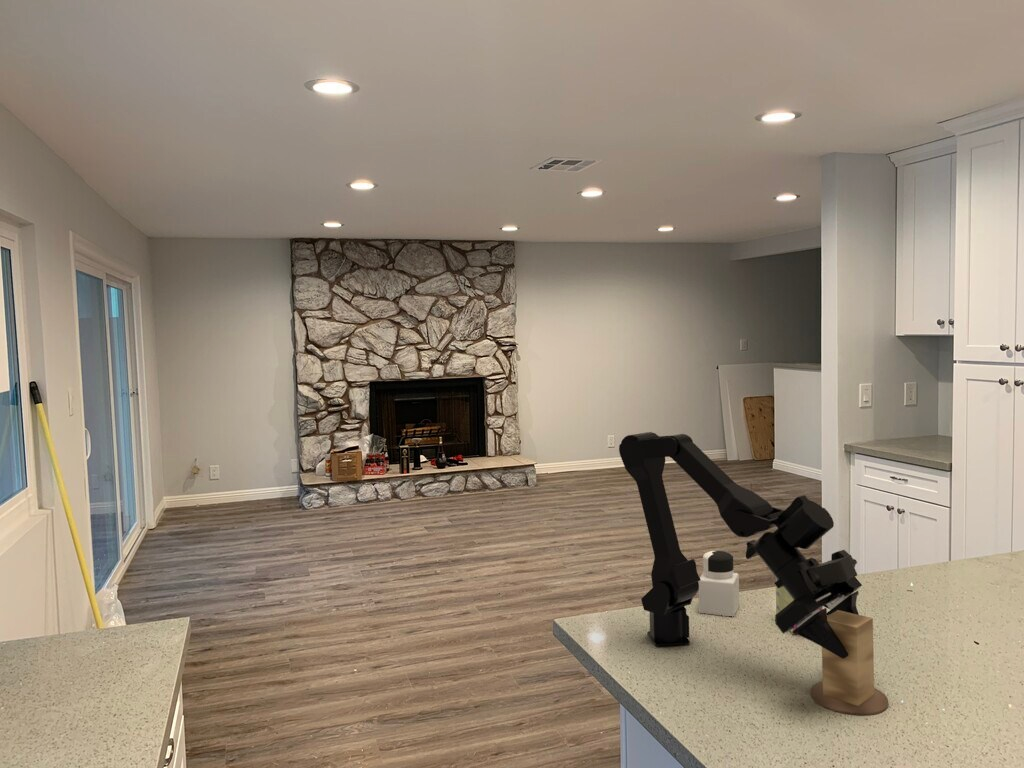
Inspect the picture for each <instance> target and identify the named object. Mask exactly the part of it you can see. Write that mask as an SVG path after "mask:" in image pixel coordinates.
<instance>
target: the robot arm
mask: <svg viewBox="0 0 1024 768" xmlns="http://www.w3.org/2000/svg"><path fill="white" fill-rule="evenodd" d="M618 452H619V456H620V459H621V461H622V463H623V466H624V469H625V470H626V471H627V472H628V474H629V475H630V476H631V478H632V479H633V480H634V481H635V483H636V486H637V489H638V495H639V498H640V502H641V505H642V510H643V513H644V519H645V523H646V527H647V530H648V531H647V532H648V534H649V539H650V543H651V546H652V547H651V548H652V551H653V555H654V556H653V557H654V560H653V563H652V569H651V573H650V578H651V584H652V585H651V586H652V588H651V589H650V590H649V591H647V593H646V594H644V596H642V597H641V598H640V601H641V604H642V605H641V606H642V607H643V610H644V611H646V612H649V630H648V631H647V636H648V638H649V639H650V641H651V642H652V643H653V644H654V646H655V647H669V646H671V647H672V646H683V645H684V646H685V645H690V643H691V641H690V640H689V637H690V616H689V615H688V614H687V608H686V606H690V605H691V604H692V602H693V598H694V597H695V596H696V595H697V593H698V590H699V583H698V581H700V580H701V579H700V577H701V576H699V574H698V571H697V570H698V569H697V563H696V561H695V559H694V558H691V559H687V557H686V556H685V555H684V553H683V552H682V550H681V547H680V544H679V539H678V535H677V532H676V527H675V523H674V519H673V516H672V512H671V508H670V503H669V500H668V497H667V491H666V487H665V484H664V479H663V474H664V468H665V465H666V458H669V457H670V458H671V459H672V460H673V461H674V462H675V463H676V464H677V465H678V466H679V467H680V468H681V470H683V471H684V472H685V473H686V474H687V475H688V477H690V478H691V479H692V480H693V481H694V483H696V484H697V485H698V487H700V489H702V490H703V491H704V492H705V493H706V494H707V495H708V497H710V498H711V499H712V501H713V502H714V503H715V504H716V506H717V510H718V513H719V515H720V517H721V519H722V520H723V521H724V523H725V524H726V526H727V528H729V530H730V531H731V533H733V534H734V535H735V536H737V537H739V538H749V537H751V536H754V535H757V534H761V533H763V532H764V533H763V534H762V535H761V536H760V537H759V538H757V539H752V540H750V541H747V542H746V551H745V558H746V559H747V560H750V559H752V558H754V557H757V556H759V558H760V559H761V560H762V561H763V563H764V564H765V565H766V566H767V568H768V569H769V570H770V572H771V573H772V574H773V575H774V577H775V579H776V578H777V579H778V581H776V580H775V582H774V583H773V584H774V585H775V587H776V586H777V587H778V588H781V587H784V588H785V589H786V590H787V592H788V593H789V594H790V595H791V597H792V598H793V599H794V600H793V601H792V602H791V603H790V604H789V605H787V606H786V607H785V608H784V609H782V610H781V611H780V612H779V613H777V614H776V613H775V615H774V617H775V618H774V619H775V620H774V622H775V623H774V624H775V625H776V627H777V628H778V629H779V630H780V632H781V634H783V635H784V634H786V633H787V632H790V630H791V629H793V628H794V625H795V624H796V626H797V627H798V628H796V629H795V630H794V631H793V632H792V633H793V634H798V635H797V636H799V637H802V638H805V639H806V640H809V641H811V642H812V643H814V644H816V645H818V646H819V647H821V648H822V647H823V648H825V649H827V650H828V651H830V652H832V653H834V654H835V655H837V656H839V657H841V658H842V659H844V658H846V657H847V656H848V655H849V654H848V652H847V651H846V649H845V647H844V646H843V644H842V643H841V641H840V640H839V638H838V637H837V635H836V634H835V632H834V631H833V629H832V628H831V626H830V625H829V624H828V622H827V616H828V615H830V614H831V613H833V612H835V611H837V610H840V611H844V612H848V613H853V614H857V615H860V614H859V610H858V608H857V599H858V596H859V590H858V589H860V588H861V587H862V586H863V585H862V583H861V582H860V580H858V578H857V576H858V572H857V570H856V569H855V568H856V565H857V564H858V561H857V560H856V559H855V558H853V557H852V555H851V554H849V553H848V552H847V551H846V550H845V549H841V550H837V551H835V552H833V553H831V556H830V557H831V560H830V559H829V560H828V561H824V562H821V563H819V561H817V559H816V558H815V557H814V558H813V557H809V558H806V556H805V555H804V554H803V552H802V551H801V550H800V549H802V550H808V549H810V548H811V547H812V546H813V545H815V543H816V542H818V541H819V540H820V539H822V538H823V536H825V535H826V534H827V533H829V531H830V530H832V529H833V528H834V524H835V523H834V520H833V517H832V516H831V514H830V512H829V511H828V510H827V509H826V508H825V507H822V506H821V505H820V504H818V503H817V502H815V501H812V500H810V499H808V497H807V496H806V494H801V495H800V496H797V497H796V498H794V500H793V501H792V502H791V503H790V505H788V507H787V508H786V509H781V508H778V507H774V506H772V505H771V503H770V502H769V501H767V500H765V498H763V497H761V496H760V495H759V494H757V493H755V492H754V491H752V490H750V489H747V488H745V487H743V486H741V485H739V484H738V483H736V482H735V481H734V479H731V478H730V476H729V475H728V474H726V472H725V471H724V470H723V469H721V467H719V466H718V465H717V464H716V462H714V461H713V460H712V459H711V458H710V457H709V456H708V455H707V454H706V453H705V452H704V451H702V449H700V448H699V447H698V445H696V443H694V442H693V439H692V438H691V436H690V435H688V434H685V433H679V434H672V435H658V434H656V433H655V432H652V431H647V432H642V433H641V432H640V433H636V434H629V435H628V434H627V435H626V436H624V438H623V439H622V440H621V442H620V444H619V446H618ZM773 528H777V529H776V530H774V531H773V532H771V531H769V530H770V529H773ZM821 607H822V610H821V611H820V610H819V608H821ZM823 607H824V608H823ZM827 610H829V611H827ZM793 634H792V635H793Z"/></svg>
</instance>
